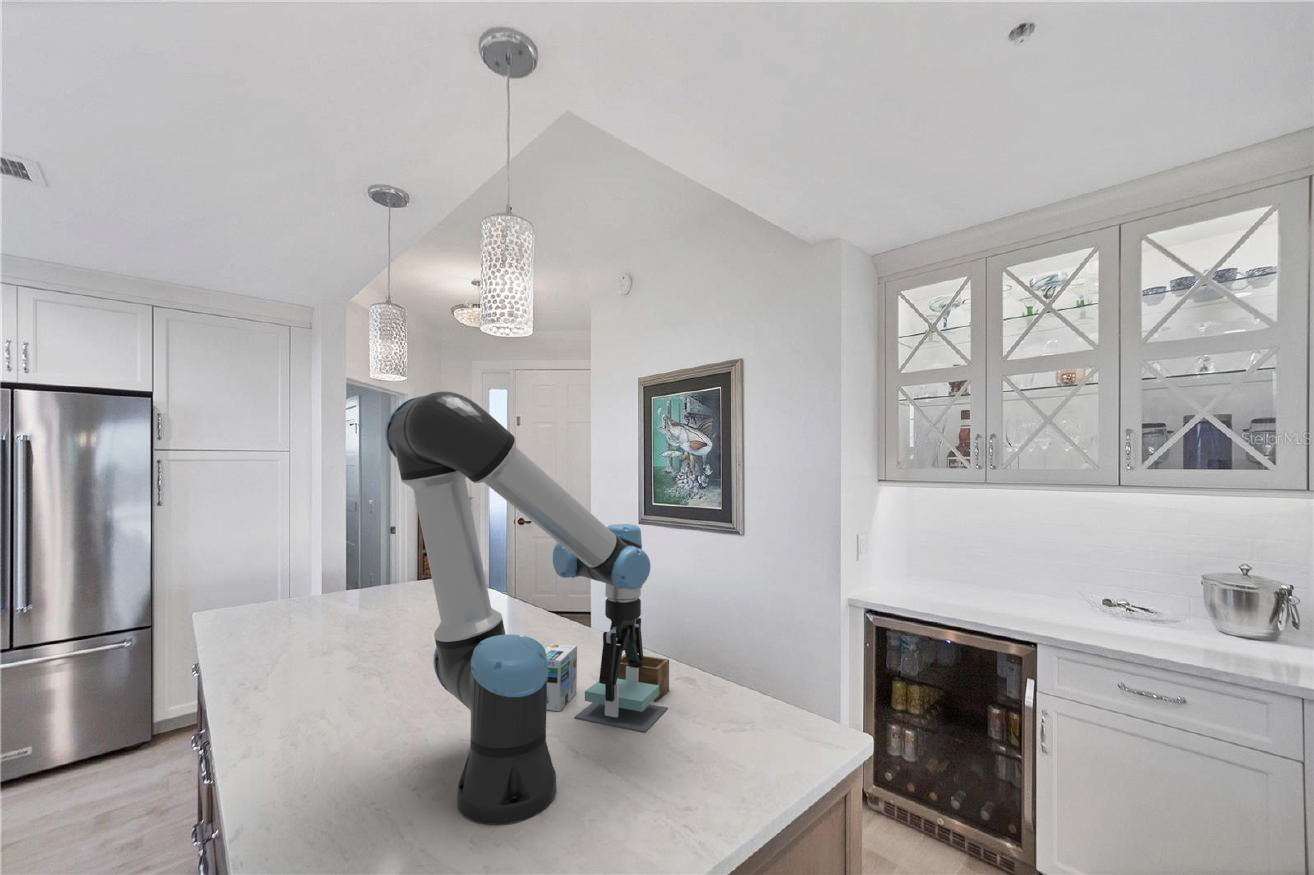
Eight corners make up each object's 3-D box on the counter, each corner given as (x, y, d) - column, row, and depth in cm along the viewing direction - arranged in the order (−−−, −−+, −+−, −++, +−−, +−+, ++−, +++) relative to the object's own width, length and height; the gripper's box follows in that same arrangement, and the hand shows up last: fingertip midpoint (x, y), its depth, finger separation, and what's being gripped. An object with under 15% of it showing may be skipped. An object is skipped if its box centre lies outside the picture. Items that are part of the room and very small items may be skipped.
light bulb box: (560, 712, 121) (561, 660, 122) (530, 709, 123) (531, 658, 123) (577, 692, 132) (578, 645, 132) (549, 690, 133) (550, 643, 133)
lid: (641, 717, 114) (642, 701, 114) (584, 706, 119) (584, 691, 119) (659, 699, 122) (659, 685, 123) (604, 690, 127) (604, 676, 128)
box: (657, 701, 127) (657, 669, 127) (612, 693, 131) (613, 662, 131) (668, 690, 133) (669, 659, 134) (626, 683, 138) (626, 653, 138)
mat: (645, 732, 112) (645, 731, 112) (574, 718, 118) (574, 716, 118) (668, 708, 123) (668, 707, 123) (601, 696, 129) (601, 695, 129)
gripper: (616, 612, 110) (614, 731, 109) (659, 589, 130) (658, 690, 129) (581, 608, 113) (580, 724, 112) (629, 586, 133) (628, 685, 132)
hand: (622, 706), depth 121 cm, fingers closed on lid, 9 cm apart
